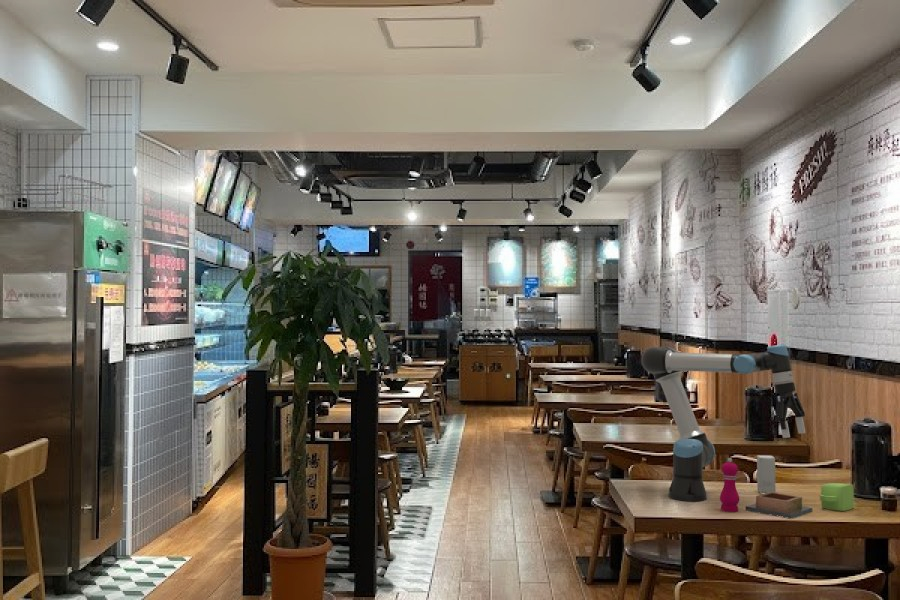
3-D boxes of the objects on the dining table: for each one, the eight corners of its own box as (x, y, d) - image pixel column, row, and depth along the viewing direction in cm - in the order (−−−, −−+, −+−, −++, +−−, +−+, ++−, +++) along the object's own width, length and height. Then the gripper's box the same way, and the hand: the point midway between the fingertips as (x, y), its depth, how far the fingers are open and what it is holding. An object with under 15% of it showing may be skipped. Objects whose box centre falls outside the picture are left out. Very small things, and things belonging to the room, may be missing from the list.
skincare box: (775, 495, 356) (776, 458, 356) (759, 494, 357) (759, 457, 357) (772, 491, 364) (772, 455, 364) (756, 490, 365) (756, 454, 365)
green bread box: (833, 504, 342) (832, 480, 343) (858, 507, 335) (857, 482, 336) (814, 509, 330) (813, 484, 331) (839, 512, 323) (839, 487, 324)
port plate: (745, 510, 326) (745, 495, 326) (767, 503, 338) (767, 490, 338) (791, 518, 312) (791, 503, 313) (812, 511, 325) (812, 497, 325)
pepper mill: (733, 508, 329) (734, 456, 330) (742, 512, 322) (743, 459, 323) (716, 508, 328) (716, 456, 329) (725, 512, 321) (725, 459, 322)
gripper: (778, 384, 329) (789, 438, 326) (806, 379, 346) (817, 430, 343) (760, 386, 335) (770, 440, 332) (789, 381, 352) (799, 432, 349)
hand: (794, 435), depth 338 cm, fingers open, 13 cm apart
